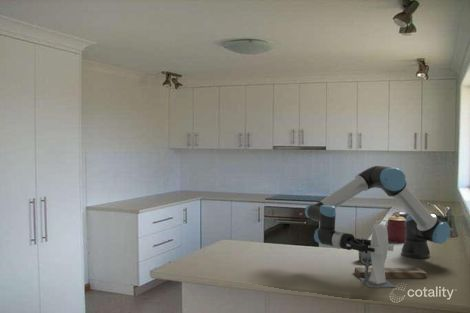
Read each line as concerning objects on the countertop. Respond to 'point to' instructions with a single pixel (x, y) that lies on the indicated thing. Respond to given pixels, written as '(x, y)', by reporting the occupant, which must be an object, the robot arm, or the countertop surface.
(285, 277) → the countertop surface
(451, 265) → the countertop surface
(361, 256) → the ceramic mug
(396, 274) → the walnut board
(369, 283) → the end pad
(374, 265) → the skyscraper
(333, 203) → the robot arm
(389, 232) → the canister
